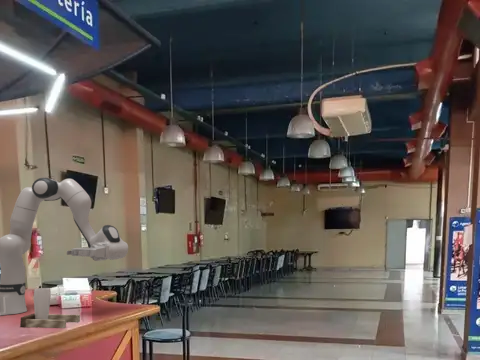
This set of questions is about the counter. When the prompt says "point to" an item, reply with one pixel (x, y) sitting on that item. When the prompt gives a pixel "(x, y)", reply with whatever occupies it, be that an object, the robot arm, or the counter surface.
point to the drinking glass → (42, 303)
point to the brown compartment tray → (48, 321)
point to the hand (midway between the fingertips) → (72, 253)
